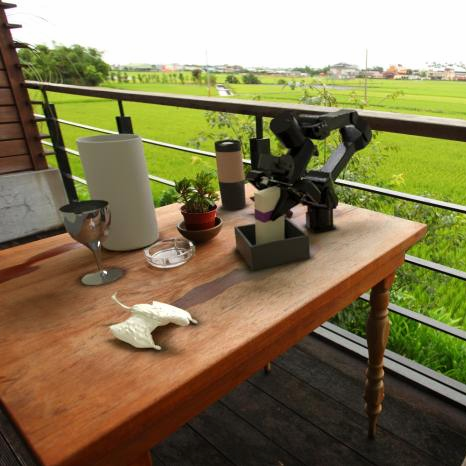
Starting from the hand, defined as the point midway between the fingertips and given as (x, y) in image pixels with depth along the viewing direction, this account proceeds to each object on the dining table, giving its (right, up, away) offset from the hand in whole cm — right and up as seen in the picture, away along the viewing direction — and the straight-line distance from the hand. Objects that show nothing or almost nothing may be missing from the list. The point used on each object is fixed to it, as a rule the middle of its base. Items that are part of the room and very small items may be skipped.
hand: (265, 218), depth 86 cm
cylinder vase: (-35, -5, +9) cm, 37 cm away
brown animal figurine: (-5, +2, +30) cm, 30 cm away
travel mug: (-18, +5, +36) cm, 40 cm away
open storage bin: (+1, -8, +4) cm, 9 cm away
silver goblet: (-32, -12, -7) cm, 35 cm away
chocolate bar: (0, -6, +4) cm, 7 cm away
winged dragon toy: (-14, -19, -22) cm, 32 cm away
